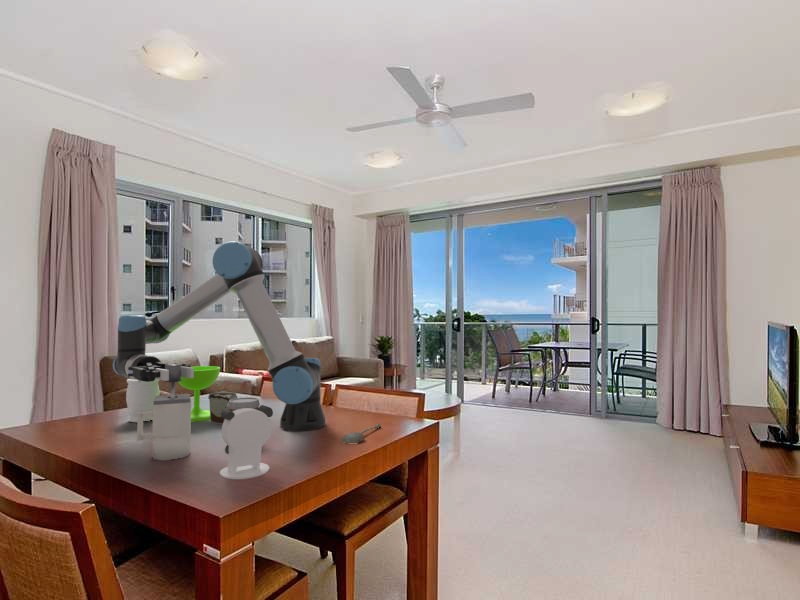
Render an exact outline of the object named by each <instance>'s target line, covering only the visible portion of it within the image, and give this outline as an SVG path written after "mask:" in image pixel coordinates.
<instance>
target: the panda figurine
mask: <svg viewBox="0 0 800 600" xmlns="http://www.w3.org/2000/svg"><path fill="white" fill-rule="evenodd" d="M273 414H274V411H273V409H272V408H271V407H269V406H267V405H264V404H260V405H259V407H258V410H256V409H252V408H242V409H238V410H235V411H229V410H223V411H222V413H221V417H222V418H224V419H225V420H224V422H223V424H221V433H220V435H221V439H222V440H223V442H224V443H225V444H226V446H225V448H224V452H225V453H226V454H227V455H228V458H227V459H228V460H227V466H225V467H223V468H222V469H220V471H219V475H220V477H222V478H224V479H228V480H246V479H247V480H248V479H253V478H257V477H260V476H264V475H265V474H267V473H268V472H269V471H270V465H269V464H267V463H264V462H261V459H262V458H261V457H262V448H263V445H265V444H266V443H267V441H268V440H269V438H270V437H271V433H272V430H273V429H272V423H271V421H270V420H271V419H270V418H271V417H272V416H273Z"/></svg>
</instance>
